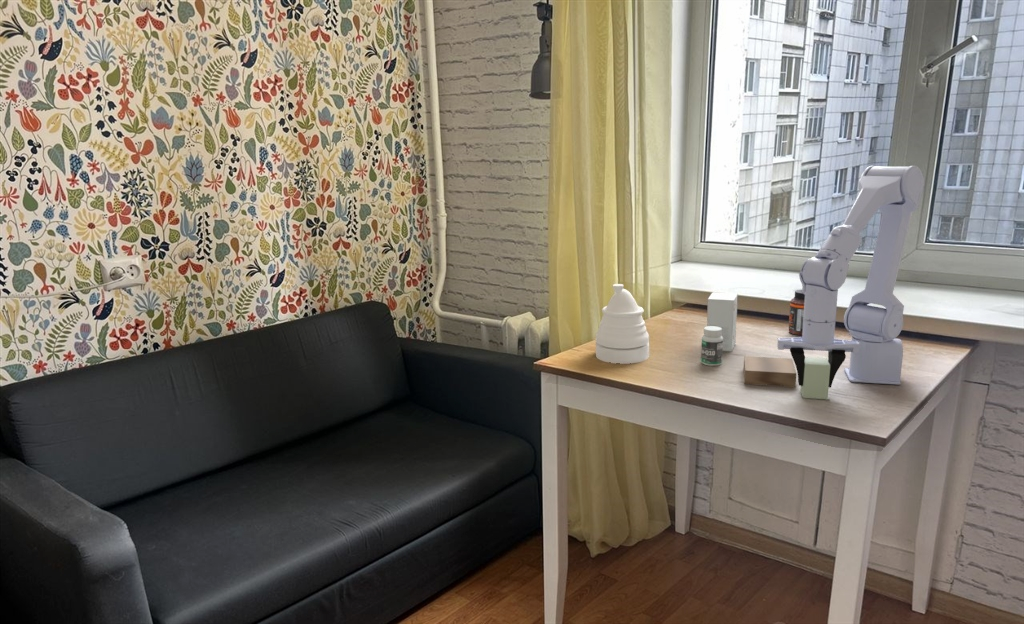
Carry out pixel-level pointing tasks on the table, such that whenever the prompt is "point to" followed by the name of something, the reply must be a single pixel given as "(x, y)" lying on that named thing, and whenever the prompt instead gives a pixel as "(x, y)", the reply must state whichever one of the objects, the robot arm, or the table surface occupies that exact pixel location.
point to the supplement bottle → (797, 313)
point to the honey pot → (622, 330)
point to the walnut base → (769, 371)
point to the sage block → (815, 378)
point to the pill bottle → (712, 346)
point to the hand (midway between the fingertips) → (814, 384)
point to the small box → (723, 316)
